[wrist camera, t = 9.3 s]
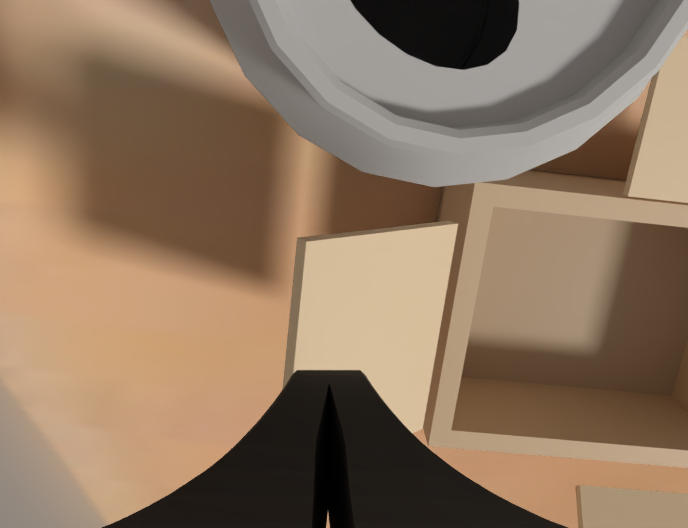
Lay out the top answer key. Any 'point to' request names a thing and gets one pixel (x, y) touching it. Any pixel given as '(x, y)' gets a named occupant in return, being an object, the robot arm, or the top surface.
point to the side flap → (630, 508)
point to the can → (450, 76)
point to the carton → (573, 305)
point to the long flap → (373, 309)
